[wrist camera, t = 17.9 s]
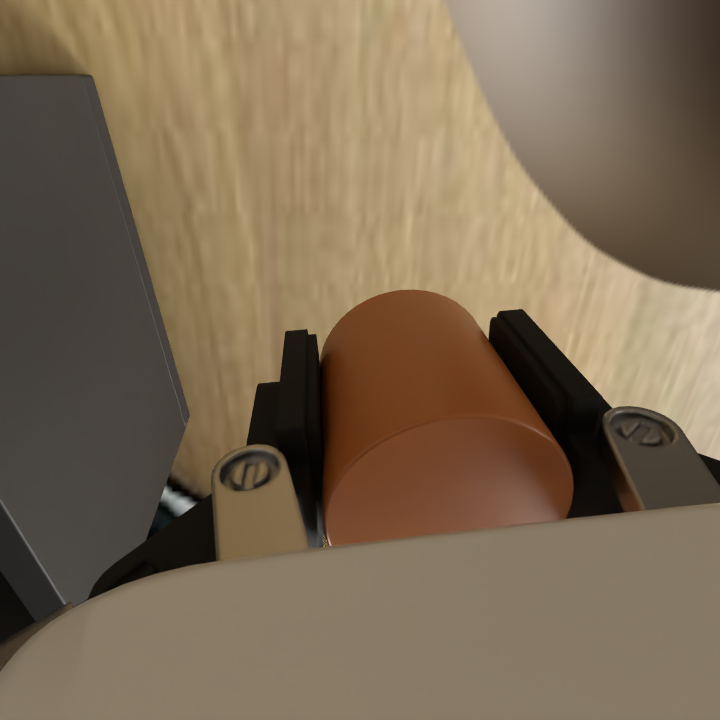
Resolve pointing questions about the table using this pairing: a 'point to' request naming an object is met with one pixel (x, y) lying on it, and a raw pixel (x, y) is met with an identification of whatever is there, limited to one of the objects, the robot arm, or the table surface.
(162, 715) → the robot arm
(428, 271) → the table surface
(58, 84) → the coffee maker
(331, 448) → the orange cylinder
